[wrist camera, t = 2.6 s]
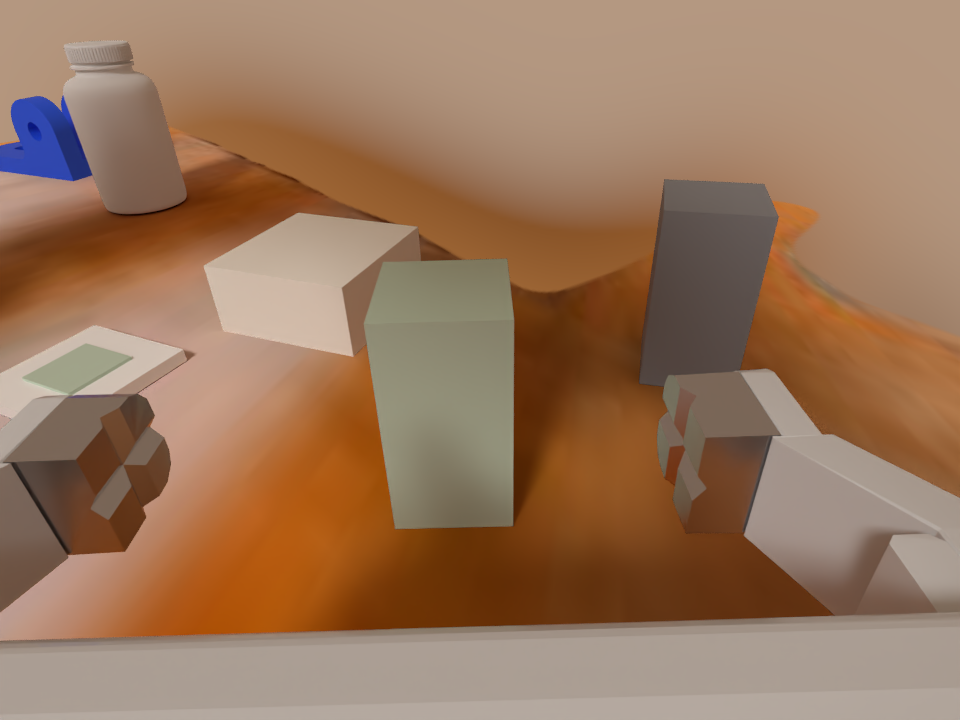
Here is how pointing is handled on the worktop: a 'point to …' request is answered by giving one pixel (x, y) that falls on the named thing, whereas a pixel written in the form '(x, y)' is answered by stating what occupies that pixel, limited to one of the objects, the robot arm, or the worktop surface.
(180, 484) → the worktop surface
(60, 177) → the bracket
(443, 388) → the sage block
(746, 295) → the charcoal block
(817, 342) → the worktop surface
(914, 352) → the worktop surface
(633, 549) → the worktop surface
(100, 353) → the tile
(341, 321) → the cream base block
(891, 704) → the robot arm
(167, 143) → the pill bottle
